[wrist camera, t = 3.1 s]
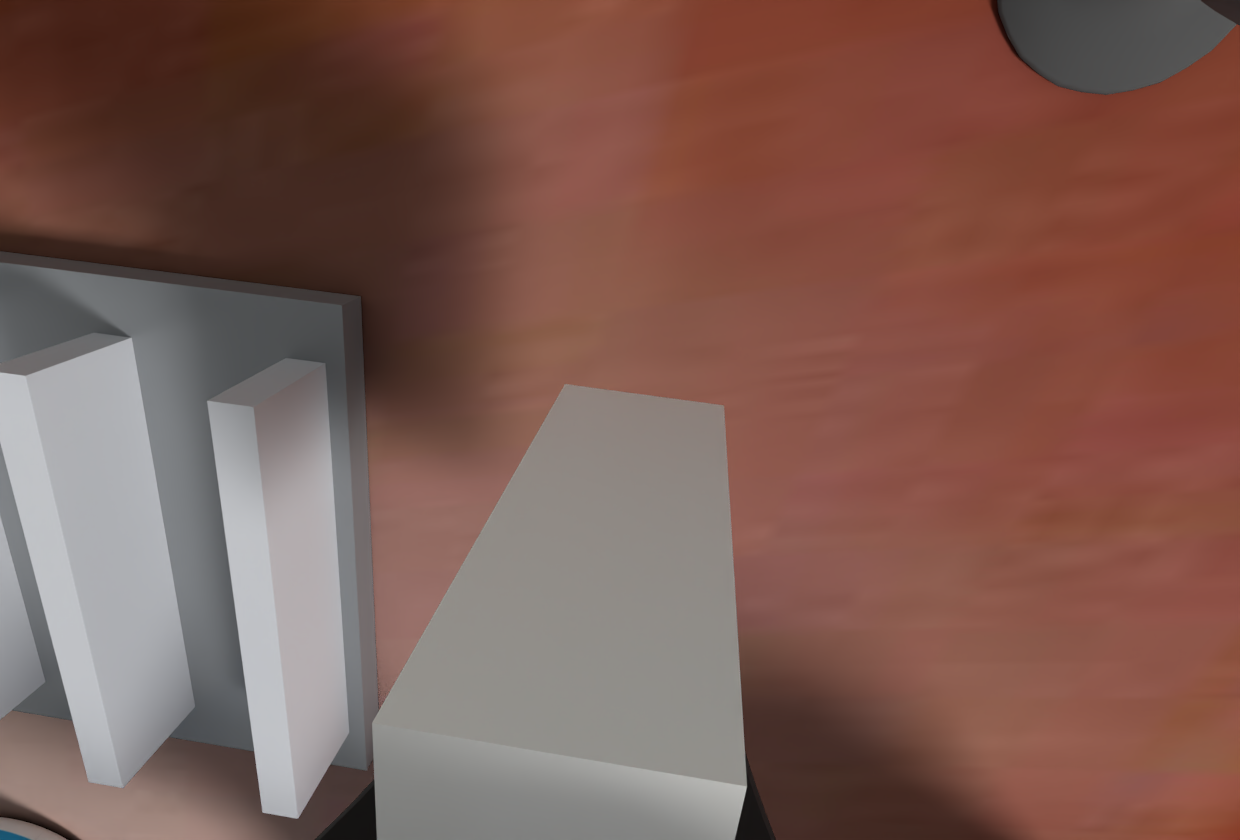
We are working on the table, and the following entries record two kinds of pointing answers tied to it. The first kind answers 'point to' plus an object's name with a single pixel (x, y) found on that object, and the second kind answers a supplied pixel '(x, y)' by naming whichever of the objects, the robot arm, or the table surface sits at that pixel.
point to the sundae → (1114, 39)
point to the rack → (186, 519)
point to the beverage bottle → (24, 831)
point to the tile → (582, 646)
